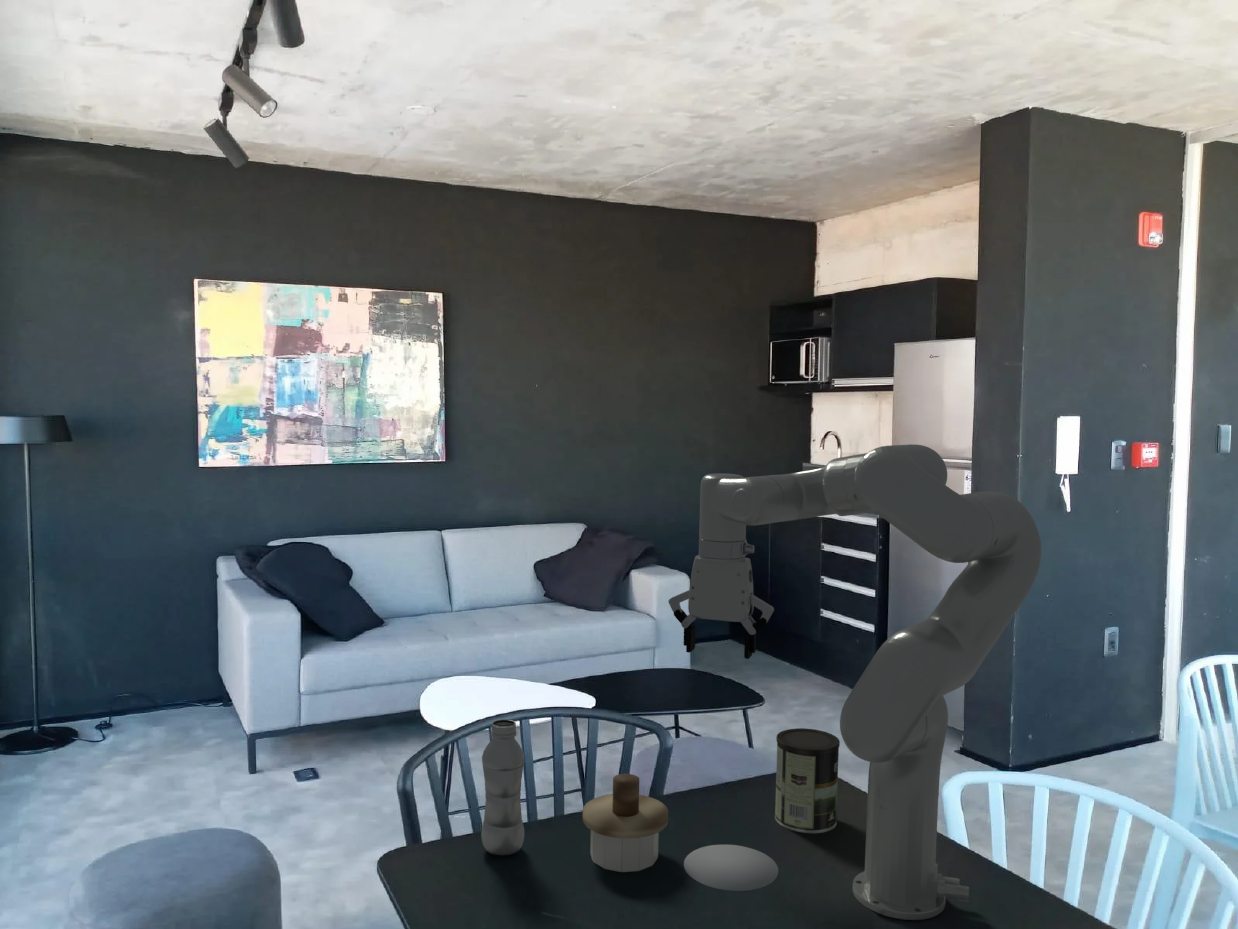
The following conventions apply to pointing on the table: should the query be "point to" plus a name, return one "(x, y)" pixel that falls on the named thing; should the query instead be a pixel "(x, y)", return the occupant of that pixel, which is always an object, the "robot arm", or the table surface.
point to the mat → (731, 867)
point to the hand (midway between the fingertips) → (719, 653)
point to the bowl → (624, 852)
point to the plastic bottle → (503, 790)
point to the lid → (625, 811)
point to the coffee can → (806, 780)
